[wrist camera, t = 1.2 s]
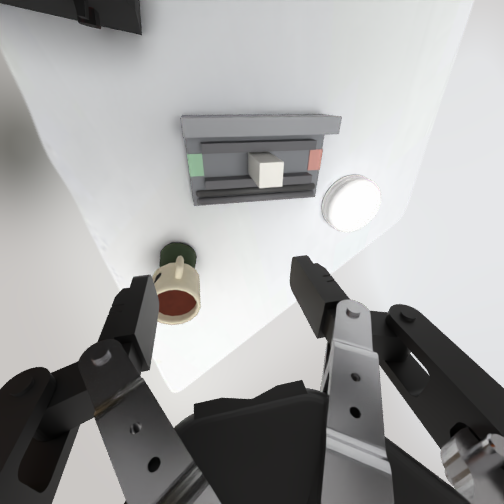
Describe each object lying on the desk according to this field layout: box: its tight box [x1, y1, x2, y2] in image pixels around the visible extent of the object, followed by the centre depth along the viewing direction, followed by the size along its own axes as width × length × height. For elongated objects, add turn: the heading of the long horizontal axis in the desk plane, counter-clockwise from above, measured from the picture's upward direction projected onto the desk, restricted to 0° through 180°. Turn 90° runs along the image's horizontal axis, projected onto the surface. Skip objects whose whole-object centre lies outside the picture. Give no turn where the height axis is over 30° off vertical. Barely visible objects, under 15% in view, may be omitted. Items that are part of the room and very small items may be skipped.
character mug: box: [152, 243, 200, 325], centre depth 38 cm, size 11×7×13 cm, turn 164°
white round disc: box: [322, 175, 381, 232], centre depth 43 cm, size 10×10×4 cm
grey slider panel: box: [181, 114, 342, 206], centre depth 34 cm, size 12×20×6 cm, turn 90°
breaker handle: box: [248, 152, 284, 188], centre depth 32 cm, size 3×3×7 cm
